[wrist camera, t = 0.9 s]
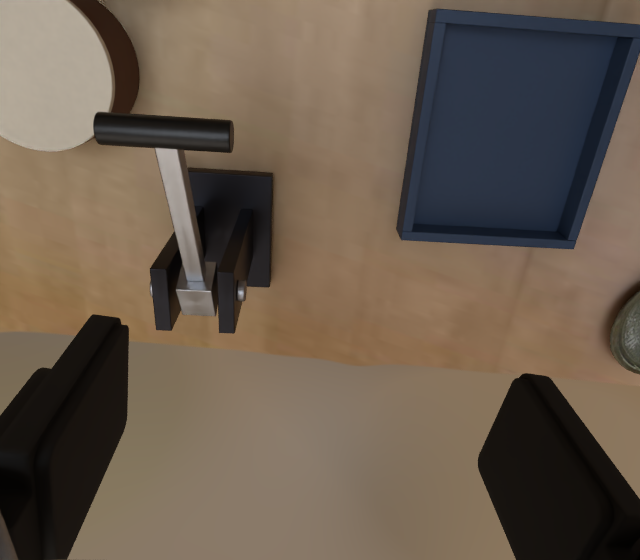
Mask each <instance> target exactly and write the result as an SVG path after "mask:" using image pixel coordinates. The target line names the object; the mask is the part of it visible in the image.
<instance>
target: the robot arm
mask: <svg viewBox="0 0 640 560" xmlns="http://www.w3.org/2000/svg"><path fill="white" fill-rule="evenodd" d="M128 345H129V328H128V326H127V325H121V321H120V319H119V318H116V317H109V316H101V315H92V316H91V317H90V318H89V319H88V320H87V322H86V323H85V325H84V326H83V327H82V329H81V330H80V331H79V333H78V334H77V335H76V337H75V338H74V339H73V341H72V342H71V343H70V345H69V346H68V347H67V349H66V350H65V351H64V353H63V354H62V355H61V357H60V358H59V360H58V361H57V362H56V363H55V365H54V366H53V368H52V369H49V368H40V369H38V370H37V371H36V372H35V373H34V374H33V375H32V376H31V378H30V379H29V380H28V381H27V382H26V384H25V385H24V386H23V388H22V389H21V390H20V391H19V393H18V394H17V395H16V396H15V398H14V399H13V400H12V402H11V403H10V404H9V406H8V407H7V408H6V409H5V410H4V412H3V413H2V414H1V415H0V560H67V558H68V556H69V553H70V551H71V549H72V547H73V544H74V542H75V540H76V538H77V535H78V533H79V531H80V529H81V526H82V524H83V522H84V519H85V517H86V515H87V513H88V511H89V508H90V506H91V504H92V502H93V499H94V497H95V494H96V493H97V490H98V488H99V486H100V484H101V481H102V479H103V477H104V474H105V472H106V470H107V468H108V465H109V463H110V461H111V459H112V457H113V454H114V452H115V450H116V447H117V445H118V443H119V441H120V439H121V436H122V434H123V432H124V429H125V425H126V421H127V400H128V399H127V398H128ZM478 468H479V472H480V474H481V477H482V479H483V481H484V484H485V486H486V489H487V491H488V493H489V496H490V498H491V501H492V503H493V505H494V508H495V510H496V512H497V515H498V517H499V520H500V522H501V525H502V527H503V529H504V532H505V534H506V536H507V539H508V541H509V544H510V546H511V549H512V551H513V553H514V556H515V558H516V560H640V499H639V498H638V496H637V495H636V494H635V492H634V491H633V490H632V488H631V487H630V485H629V484H628V483H627V481H626V480H625V479H624V477H623V476H622V475H621V473H620V472H619V470H618V469H617V468H616V466H615V465H614V464H613V462H612V461H611V460H610V458H609V457H608V456H607V454H606V453H605V451H604V450H603V449H602V448H601V446H600V445H599V443H598V442H597V441H596V439H595V438H594V437H593V435H592V434H591V433H590V431H589V430H588V429H587V427H586V426H585V424H584V423H583V422H582V420H581V419H580V418H579V416H578V415H577V414H576V413H575V411H574V410H573V408H572V407H571V406H570V405H569V403H568V402H567V400H566V399H565V397H564V396H563V395H562V393H561V392H560V391H559V389H558V388H557V387H556V385H555V384H554V383H553V381H552V380H551V379H550V378H549V377H547V376H542V375H535V374H527V373H525V374H522V375H521V376H520V377H519V378H516V379H515V380H514V381H513V382H512V384H511V386H510V388H509V391H508V393H507V395H506V397H505V399H504V401H503V404H502V406H501V408H500V410H499V412H498V415H497V417H496V419H495V421H494V424H493V426H492V428H491V430H490V432H489V434H488V437H487V439H486V441H485V443H484V445H483V448H482V450H481V452H480V454H479V457H478Z"/></svg>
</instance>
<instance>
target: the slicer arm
mask: <svg viewBox="0 0 640 560" xmlns="http://www.w3.org/2000/svg"><path fill="white" fill-rule="evenodd" d="M93 130H94V136H95V139H96V141H97V142H98V143H99V144H100V145H112V146H128V147H144V148H155V152H156V156H157V161H158V165H159V169H160V173H161V177H162V181H163V185H164V189H165V193H166V198H167V202H168V206H169V210H170V214H171V218H172V222H173V226H174V231H175V235H176V239H177V243H178V247H179V251H180V255H181V259H182V265H181V269H180V273H179V278H178V282H177V286H176V293H177V296H178V300H179V303H180V307H181V311H182V314H183V315H201V316H216V312H217V306H218V284H217V271H218V268H217V262H205V260H204V255H203V250H202V244H201V239H200V234H199V228H198V223H197V217H196V212H195V207H194V201H193V196H192V190H191V185H190V180H189V174H188V169H187V163H186V158H185V153H184V150H193V151H209V152H225V153H231V152H232V150H233V145H234V127H233V122H232V121H231V120H218V119H203V118H188V117H172V116H157V115H142V114H126V113H111V112H97V113H96V114H95V116H94V121H93Z"/></svg>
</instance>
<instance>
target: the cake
mask: <svg viewBox="0 0 640 560" xmlns="http://www.w3.org/2000/svg"><path fill="white" fill-rule="evenodd" d="M138 88H139V68H138V62H137V58H136V54H135V51H134V48H133V46H132V43H131V41H130V39H129V37H128V35H127V33H126V32H125V30H124V29H123V27H122V26H121V24H120V23H119V22H118V20H117V19H116V18H115V17H114V16H113V14H112V13H110V12H109V11H108V10H107V9H106V8H105V7H104V6H103V5H101V4H100V3H99V2H98V1H96V0H0V136H2V137H4V138H5V139H7V140H9V141H11V142H13V143H15V144H17V145H20V146H23V147H26V148H29V149H33V150H38V151H63V150H68V149H71V148H75V147H77V146H79V145H81V144H83V143H85V142H87V141H89V140H91V139H93V138H95V136H94V130H93V121H94V116H95V114H96V113H97V112H111V113H126V114H129V113H130V111H131V109H132V107H133V105H134V103H135V100H136V97H137V93H138Z"/></svg>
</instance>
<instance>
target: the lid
mask: <svg viewBox="0 0 640 560" xmlns="http://www.w3.org/2000/svg"><path fill="white" fill-rule="evenodd" d="M610 343H611V345H610V348H611V351H612V354H613V356H614V357H615V359H616V360H617V361H618V363H619V364H620V365H621V366H623V367H624V368H625V369H627V370H629V371H631V372H634V373H637V374H640V290H639V291H638V292H637V293H636V294H634V295H633V296H632V297H631V298H630V299H629V300H628V301H627V302H626V303H625V305H624V306H623V307H622V309H621V310H620V311H619V313H618V315H617V317H616V319H615V321H614V323H613V326H612V329H611V333H610Z"/></svg>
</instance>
